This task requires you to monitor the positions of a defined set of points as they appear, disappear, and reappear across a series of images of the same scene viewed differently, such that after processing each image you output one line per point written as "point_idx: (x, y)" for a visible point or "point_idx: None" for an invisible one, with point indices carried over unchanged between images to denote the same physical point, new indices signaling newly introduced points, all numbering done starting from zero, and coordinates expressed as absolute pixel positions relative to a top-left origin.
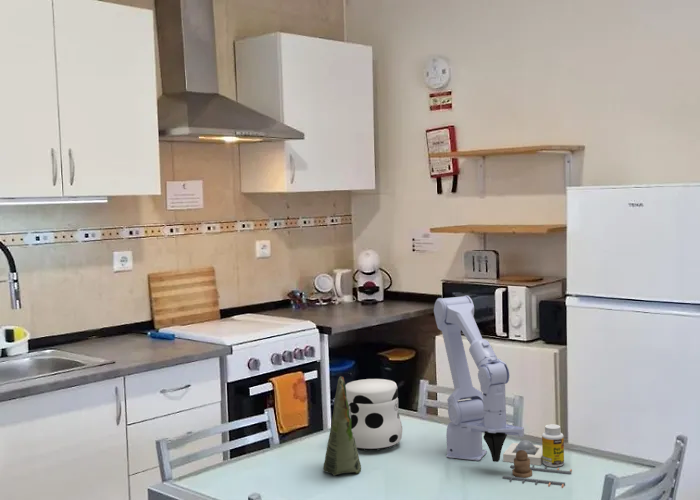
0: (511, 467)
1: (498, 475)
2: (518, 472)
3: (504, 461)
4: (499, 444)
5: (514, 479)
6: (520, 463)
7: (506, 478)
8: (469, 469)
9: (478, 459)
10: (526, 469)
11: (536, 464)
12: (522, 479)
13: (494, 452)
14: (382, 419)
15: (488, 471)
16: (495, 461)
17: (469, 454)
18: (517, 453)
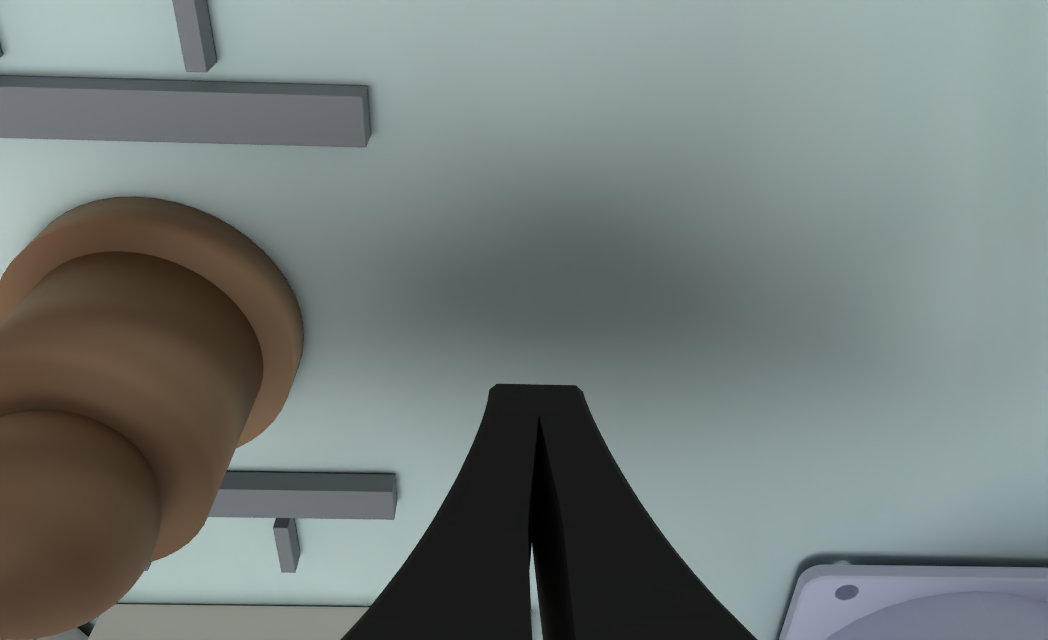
0: (380, 479)
1: (467, 203)
2: (148, 261)
3: None
4: (384, 628)
5: (162, 81)
6: (36, 345)
7: (297, 87)
8: (919, 311)
9: (818, 576)
10: (9, 315)
11: (151, 608)
12: (18, 81)
13: (551, 506)
14: None
15: (642, 308)
16: (531, 385)
17: (946, 628)
18: (57, 522)
